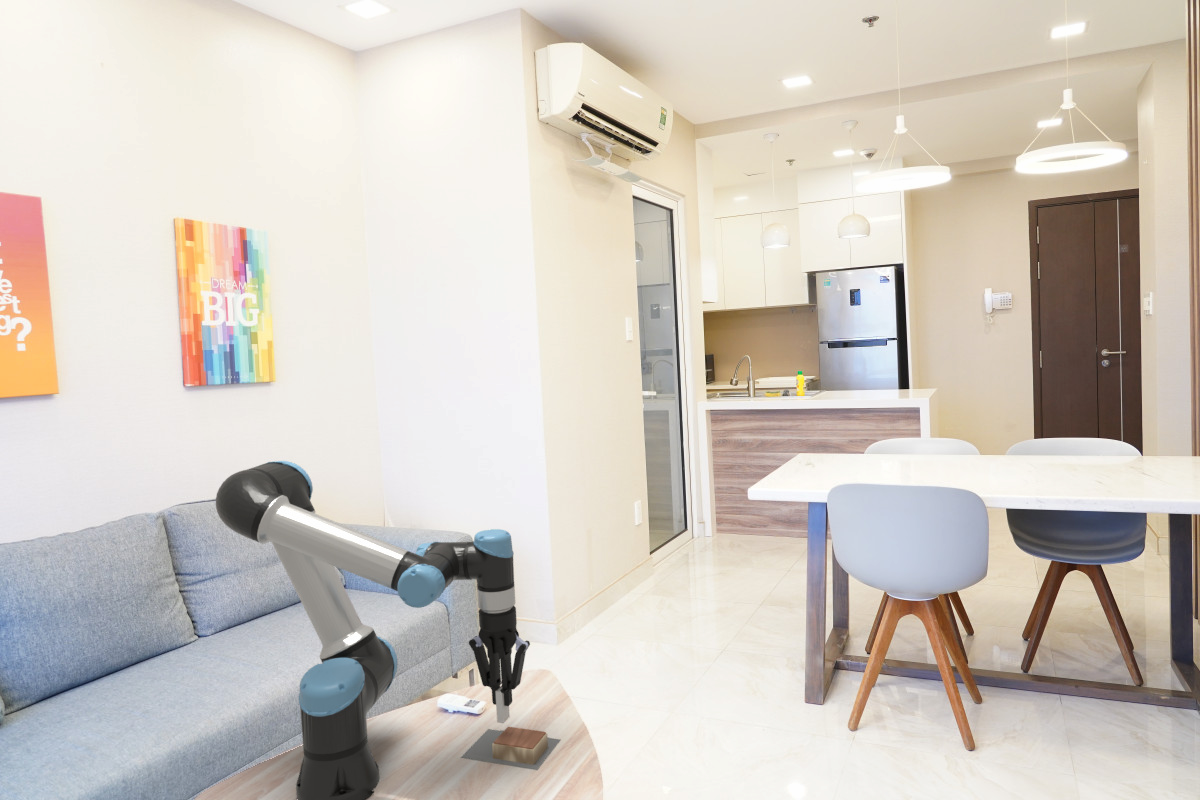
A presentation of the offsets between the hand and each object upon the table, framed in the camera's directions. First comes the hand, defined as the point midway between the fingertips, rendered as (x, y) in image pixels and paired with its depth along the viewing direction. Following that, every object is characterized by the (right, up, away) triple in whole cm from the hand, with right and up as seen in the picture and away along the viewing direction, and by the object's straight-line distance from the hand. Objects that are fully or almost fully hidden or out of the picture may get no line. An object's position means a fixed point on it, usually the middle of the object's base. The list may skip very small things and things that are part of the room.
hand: (503, 719), depth 158 cm
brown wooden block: (-1, -5, +1) cm, 5 cm away
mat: (+2, -7, +1) cm, 7 cm away
